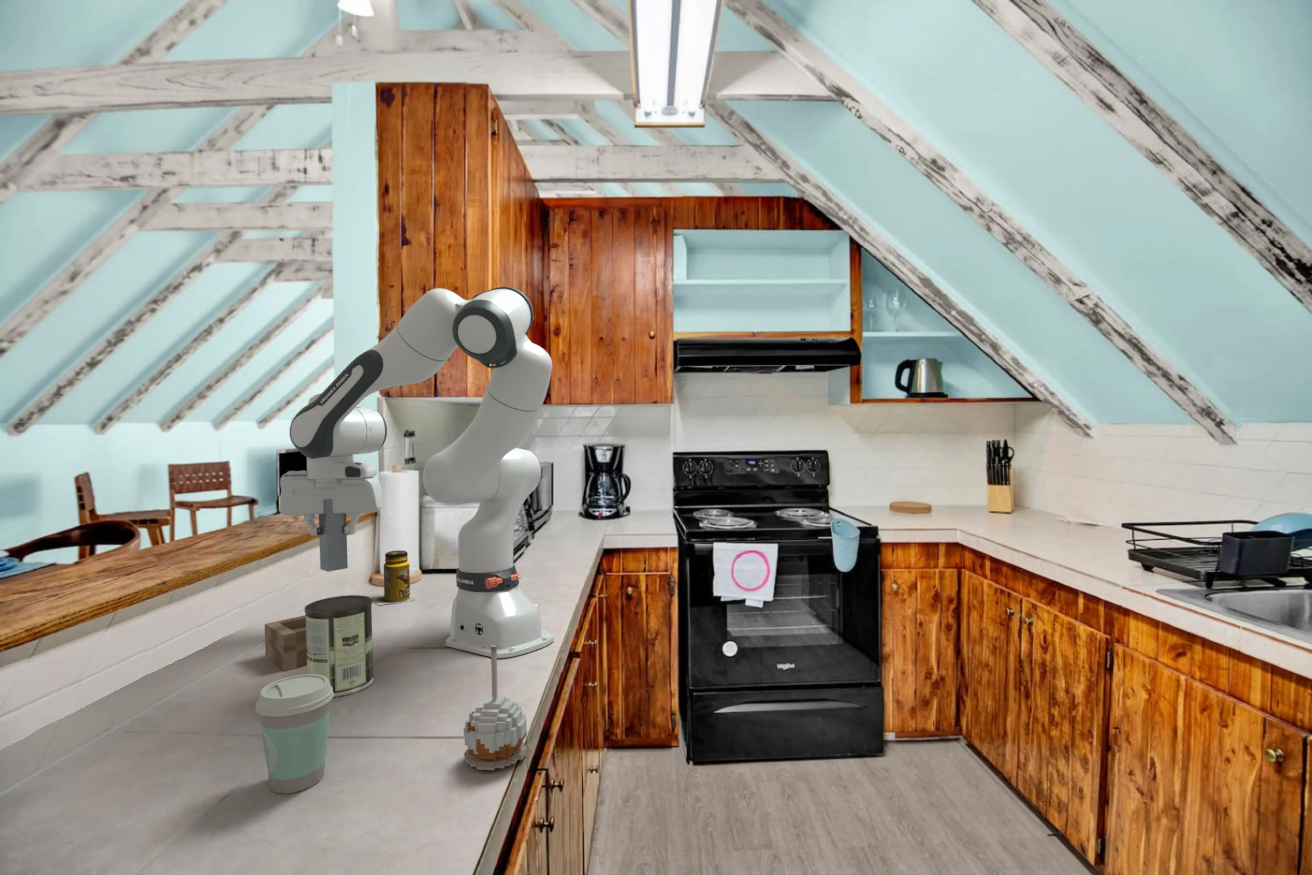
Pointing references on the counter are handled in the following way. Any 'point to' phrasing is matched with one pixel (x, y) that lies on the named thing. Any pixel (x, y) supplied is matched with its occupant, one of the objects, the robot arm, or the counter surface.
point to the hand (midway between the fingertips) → (332, 534)
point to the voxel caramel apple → (495, 729)
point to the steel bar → (332, 539)
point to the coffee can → (341, 642)
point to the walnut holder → (287, 643)
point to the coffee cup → (295, 730)
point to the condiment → (395, 579)
